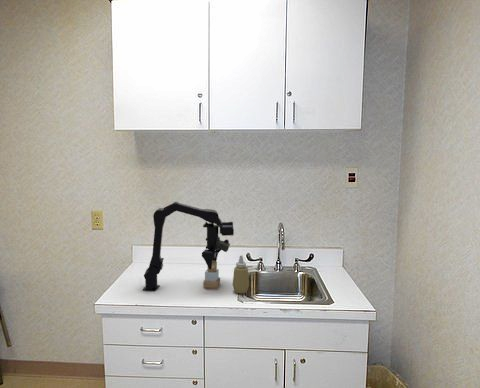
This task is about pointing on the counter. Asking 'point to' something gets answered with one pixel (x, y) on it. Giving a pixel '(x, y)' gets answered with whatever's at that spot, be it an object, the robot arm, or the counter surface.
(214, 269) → the tan wooden cylinder
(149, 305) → the counter surface
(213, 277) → the blue-grey square block
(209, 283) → the walnut base block
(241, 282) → the squeeze bottle
